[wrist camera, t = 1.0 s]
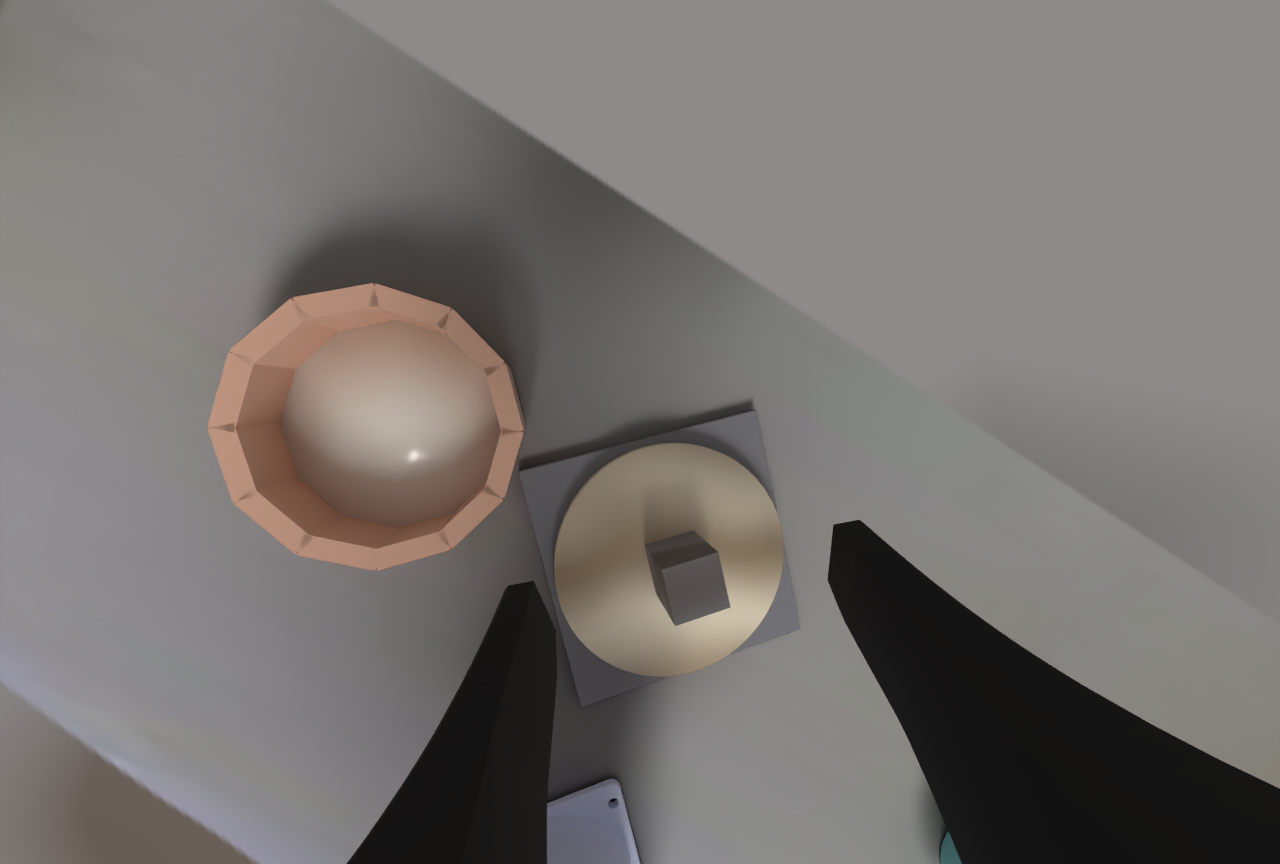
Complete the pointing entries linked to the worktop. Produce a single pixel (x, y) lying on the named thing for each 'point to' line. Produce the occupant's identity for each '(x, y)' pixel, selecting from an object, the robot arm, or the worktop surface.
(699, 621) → the lid
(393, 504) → the bowl
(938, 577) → the worktop surface
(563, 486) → the mat
